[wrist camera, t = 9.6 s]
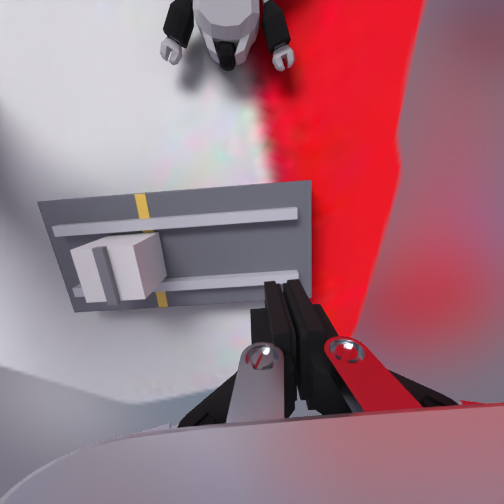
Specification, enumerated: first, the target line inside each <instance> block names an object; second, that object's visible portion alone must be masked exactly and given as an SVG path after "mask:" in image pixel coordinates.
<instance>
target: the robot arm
mask: <svg viewBox="0 0 504 504" xmlns="http://www.w3.org/2000/svg"><path fill="white" fill-rule="evenodd" d="M264 293H265V308H260V309H250V313H251V340H252V345H250V346H248V347H247V348H246V349H245V350H244V351H243V352H242V355H241V358H240V362H239V367H238V371H237V372H236V373H235V374H234V375H233V376H231V377H230V378H229V379H228V380H227V381H226V382H224V383H223V384H222V385H221V386H220V387H218V388H217V389H216V390H215V391H214V392H213V393H211V394H210V395H209V396H208V397H207V398H206V399H204V400H203V401H202V402H201V403H200V404H199V405H197V406H196V407H195V408H194V409H193V410H192V411H190V412H189V413H188V414H187V415H186V416H185V417H184V418H183V419H182V420H181V421H180V423H179V425H175V426H172V427H171V425H170V423H167V424H164V425H161V426H158V427H154V428H151V429H148V430H145V431H141V432H138V433H133V434H128V435H123V436H119V437H115V438H110V439H107V440H103V441H100V442H97V443H94V444H91V445H88V446H85V447H82V448H80V449H78V450H76V451H73V452H71V453H69V454H67V455H64V456H62V457H60V458H57V459H56V460H54V461H52V462H50V463H48V464H46V465H44V466H43V467H41V468H39V469H38V470H36V471H34V472H33V473H31V474H30V475H28V476H27V477H25V478H24V479H23V480H21V481H20V482H19V483H17V484H16V485H15V486H14V487H12V488H11V489H10V490H9V491H8V492H7V493H6V494H5V495H4V496H3V497H2V498H0V504H504V402H500V403H479V402H470V401H463V400H460V401H459V404H457V403H456V402H455V401H453V400H452V399H450V398H448V397H447V396H445V395H443V394H441V393H438V392H436V391H434V390H432V389H429V388H427V387H425V386H423V385H420V384H418V383H416V382H414V381H412V380H409V379H407V378H405V377H403V376H401V375H399V374H397V373H394V372H392V371H390V370H388V369H387V368H385V366H384V365H383V364H382V363H381V362H380V361H379V360H378V359H377V358H376V357H375V355H374V354H373V353H372V352H371V351H370V350H369V349H368V348H367V347H366V346H365V345H364V344H362V343H361V342H359V341H358V340H356V339H353V338H350V337H344V336H338V334H337V332H336V330H335V329H334V327H333V325H332V324H331V322H330V320H329V318H328V317H327V315H326V313H325V312H324V310H323V308H322V306H321V305H320V304H312V303H311V302H310V300H309V298H308V296H307V294H306V292H305V290H304V288H303V286H302V284H301V282H300V280H299V279H291V280H287V283H283V291H282V288H281V285H280V283H277V284H276V282H275V281H265V282H264ZM297 387H298V391H299V396H300V399H301V400H306V403H307V406H308V410H317V411H318V412H320V413H321V414H322V415H319V416H306V417H294V418H289V416H290V415H291V414H292V412H293V411H294V410H295V401H296V400H297Z"/></svg>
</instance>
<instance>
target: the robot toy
mask: <svg viewBox="0 0 504 504" xmlns="http://www.w3.org/2000/svg"><path fill="white" fill-rule="evenodd" d="M262 3H263V14H262V29H263V33H264V36H265V39H266V42H267V46H268V49H269V52H270V54H272V53H273V64H274V66H275V68H276V69H277V70H279V71H283V70H284V69H285V67H284V65H283V62H282V59H284V58H285V59H286V62H287V67H288V68H290V67H291V66H292V65H293V63H294V51H293V50H292V49H291V48H290V47H289V45H288V44H289V42H290V41H291V39H290V35H289V32H288V28H287V24H286V21H285V17H284V13H283V10H282V9H281V8H280V7H279V6H278V5H277V4H276V3H275V2H274V1H273V0H262ZM193 12H194V13H193ZM259 14H260V12H259V0H175V1H174V2H172V3H171V4H170V8H169V11H168V14H167V17H166V21H165V24H164V27H163V30H164V33H165V34H166V35H167V36H168V37H167V38H166V39H165V40H164V41H163V42H162V43H161V49H160V54H161V56H162V58H163V59H165V60H166V61H168V57H169V54H170V51H172V53H171V57H170V59H169V62H170V63H171V64H173V65H176V64H178V62H179V61H180V59H181V58H182V48H181V46H182V47H184V48H187V45H188V42H189V40H190V37H191V34H192V31H193V28H194V16H195V19H196V23H197V25H198V27H199V30H200V32H201V34H202V37H203V39H204V40H205V42H206V46H207V48H208V51H209V53H210V55H211V58H212V59H213V60H214V61H215V62H217V63H218V64H220V67H221V68H222V69H224V70H226V71H231V70H233V69H234V67H235V61H236V64H237V66H238V65H240V64H241V63H243V62H245V61H246V59H247V56H248V53H249V50H250V47H251V46H252V44H253V43H254V42H255V41H256V37H257V34H258V31H259ZM216 50H217V51H219V58H218V54H217V51H216Z"/></svg>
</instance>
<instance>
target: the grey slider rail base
mask: <svg viewBox="0 0 504 504" xmlns="http://www.w3.org/2000/svg"><path fill="white" fill-rule="evenodd" d="M37 203H38V206H39V209H40V211H41V214H42V217H43V220H44V223H45V226H46V229H47V232H48V235H49V238H50V241H51V244H52V247H53V250H54V253H55V256H56V259H57V262H58V264H59V267H60V270H61V273H62V276H63V279H64V282H65V285H66V288H67V291H68V294H69V297H70V300H71V303H72V306H73V309H74V312H89V311H105V310H121V309H137V308H153V307H159V308H161V307H170V306H186V305H202V304H218V303H234V302H251V301H265V293H264V282H265V281H275V282H276V284H277V283H280V285H281V288H282V291H283V283H287V280H291V279H299V280H300V282H301V284H302V286H303V288H304V290H305V292H306V294H307V296H308V298H312V222H311V180H302V181H290V182H277V183H264V184H252V185H239V186H226V187H214V188H201V189H188V190H176V191H163V192H150V193H138V194H125V195H112V196H100V197H87V198H74V199H62V200H52V201H42V202H37ZM151 232H159V236H160V241H161V246H162V252H163V257H164V262H165V267H166V272H167V276H166V277H165V278H164V280H163V281H162V282H161V283H160V284H159V285H158V286H157V287H156V288H155V289H154V290H153V291H152V293H151V294H150V295H149V296H148V297H147V298H146V299H139V300H123V301H121V302H120V303H119V304H118V305H108V304H107V302H91V303H87V302H86V299H85V296H84V293H83V290H82V286H81V283H80V280H79V277H78V274H77V271H76V268H75V264H74V261H73V258H72V255H71V252H70V250H72V249H74V248H77V247H80V246H82V245H85V244H88V243H90V242H93V241H96V240H98V239H101V238H104V237H106V236H110V235H124V234H137V233H151Z"/></svg>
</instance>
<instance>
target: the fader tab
mask: <svg viewBox="0 0 504 504" xmlns="http://www.w3.org/2000/svg"><path fill="white" fill-rule="evenodd" d="M70 252H71V255H72V258H73V261H74V264H75V268H76V271H77V274H78V277H79V280H80V283H81V286H82V290H83V293H84V296H85V299H86V302H87V303H91V302H107V304H108V305H118V304H119V303H120V302H121V301H123V300H139V299H146V298H147V297H148V296H149V295H150V294H151V293H152V291H153V290H154V289H155V288H156V287H157V286H158V285H159V284H160V283H161V282H162V281H163V280H164V278H165V277H166V276H167V272H166V267H165V262H164V257H163V252H162V246H161V241H160V236H159V232H151V233H137V234H124V235H110V236H106V237H104V238H101V239H98V240H96V241H93V242H90V243H88V244H85V245H82V246H80V247H77V248H74V249H72V250H70Z"/></svg>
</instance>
